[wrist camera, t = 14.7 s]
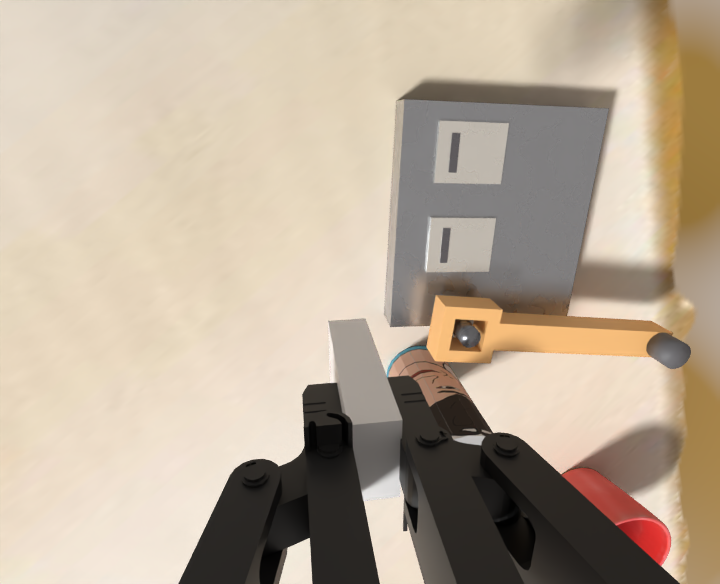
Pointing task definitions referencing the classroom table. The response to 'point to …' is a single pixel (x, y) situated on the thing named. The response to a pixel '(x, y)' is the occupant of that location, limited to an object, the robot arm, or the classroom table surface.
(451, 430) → the printed cylinder
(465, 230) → the board
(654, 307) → the classroom table surface
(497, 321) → the bar
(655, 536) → the flower pot
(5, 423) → the classroom table surface
